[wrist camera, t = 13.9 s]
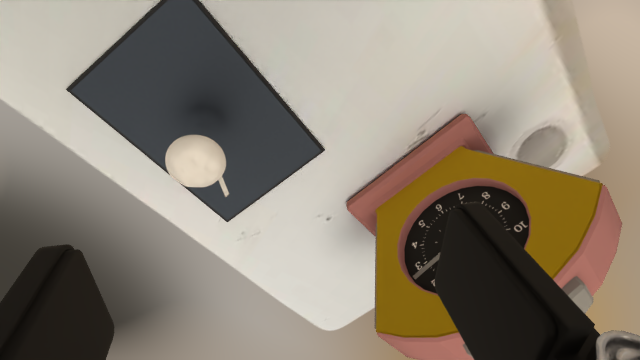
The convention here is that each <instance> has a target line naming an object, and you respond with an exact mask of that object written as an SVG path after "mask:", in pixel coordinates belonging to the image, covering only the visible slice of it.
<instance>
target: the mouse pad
mask: <svg viewBox="0 0 640 360" xmlns="http://www.w3.org/2000/svg"><path fill="white" fill-rule="evenodd" d="M66 90H67V91H68V92H70V93H71V94H72V95H73V96H74V97H76V98H77V99H78V100H79V101H81V102H82V103H83V104H84V105H85V106H87V107H88V108H89V109H90V110H91V111H93V112H94V113H95V114H96V115H98V116H99V117H100V118H101V119H102V120H104V121H105V122H106V123H107V124H109V125H110V126H111V127H112V128H113V129H115V130H116V131H117V132H118V133H119V134H121V135H122V136H123V137H124V138H126V139H127V140H128V141H129V142H130V143H132V144H133V145H134V146H135V147H136V148H138V149H139V150H140V151H141V152H143V153H144V154H145V155H146V156H147V157H149V158H150V159H151V160H152V161H153V162H155V163H156V164H157V165H158V166H160V167H161V168H162V169H163V170H164V171H166V172H167V173H168V171H167V168H166V163H165V157H166V152H167V150H168V148H169V146H170V145H171V143H172V142H173V140H174V139H175V137H176V136H177V135H178V133H179V131H180V130H181V128H182V126H183V124H184V123H185V121H186V119H187V118H188V116H189V114H190V113H191V112H192V111H194V110H196V109H197V108H199V107H204V108H211V109H213V110H214V111H215V112H217V113H218V114H220V117H221V120H222V123H223V132H224V149H225V157H226V168H225V171H224V173H223V175H222V177H223V180H224V182H225V185H226V187H227V189H228V192H229V195H228V196H227V197H225V195H224V193H223V190H222V188H221V185H220V183H219V180H217V181H216V182H215V183H213V184H212V185H209V186H207V187H186V186H184V185H183V186H184V187H185V188H186V189H188V190H189V191H190V192H191V193H192V194H194V195H195V196H196V197H197V198H198V199H200V200H201V201H202V202H203V203H205V204H206V205H207V206H208V207H209V208H211V209H212V210H213V211H214V212H215V213H217V214H218V215H219V216H220V217H222V218H223V219H224V220H225V221H226V222H228V221H230V220H231V219H232V218H234V217H235V216H236V215H238V214H239V213H241V212H242V211H243V210H245V209H246V208H247V207H249V206H250V205H251V204H253V203H254V202H256V201H257V200H258V199H260V198H261V197H262V196H264V195H265V194H266V193H268V192H269V191H270V190H272V189H273V188H275V187H276V186H277V185H279V184H280V183H281V182H283V181H284V180H285V179H287V178H288V177H289V176H291V175H292V174H294V173H295V172H296V171H298V170H299V169H300V168H302V167H303V166H304V165H306V164H307V163H308V162H310V161H311V160H313V159H314V158H315V157H317V156H318V155H319V154H321V153H322V152H323V151H325V149H324V148H323V147H322V146H321V144H320V143H319V142H318V141H317V140H316V139H315V137H314V136H313V135H312V134H311V133H310V131H309V130H308V129H307V128H306V127H305V126H304V124H303V123H302V122H301V121H300V120H299V119H298V117H297V116H296V115H295V114H294V113H293V111H292V110H291V109H290V108H289V107H288V106H287V104H286V103H285V102H284V101H283V100H282V98H281V97H280V96H279V95H278V94H277V93H276V91H275V90H274V89H273V88H272V87H271V85H270V84H269V83H268V82H267V81H266V80H265V78H264V77H263V76H262V75H261V74H260V72H259V71H258V70H257V69H256V68H255V67H254V65H253V64H252V63H251V62H250V61H249V60H248V58H247V57H246V56H245V55H244V54H243V52H242V51H241V50H240V49H239V48H238V47H237V45H236V44H235V43H234V42H233V41H232V39H231V38H230V37H229V36H228V35H227V34H226V32H225V31H224V30H223V29H222V28H221V26H220V25H219V24H218V23H217V22H216V21H215V19H214V18H213V17H212V16H211V15H210V13H209V12H208V11H207V10H206V9H205V8H204V6H203V5H202V4H201V3H200V2H199V1H198V0H161V1H160V2H159V3H158V4H157V5H156V6H155V7H154V8H153V9H152V10H151V11H150V12H148V13H147V14H146V15H145V16H144V17H143V18H142V19H141V20H140V21H139V22H138V23H137V24H136V25H135V26H133V27H132V28H131V29H130V30H129V31H128V32H127V33H126V34H125V35H124V36H123V37H122V38H121V39H120V40H118V41H117V42H116V43H115V44H114V45H113V46H112V47H111V48H110V49H109V50H108V51H107V52H106V53H105V54H103V55H102V56H101V57H100V58H99V59H98V60H97V61H96V62H95V63H94V64H93V65H92V66H91V67H90V68H88V69H87V70H86V71H85V72H84V73H83V74H82V75H81V76H80V77H79V78H78V79H77V80H76V81H75V82H73V83H72V84H71V85H70V86H69V87H68V88H67V89H66ZM168 174H169V173H168ZM169 175H170V174H169ZM180 184H181V183H180ZM181 185H182V184H181Z"/></svg>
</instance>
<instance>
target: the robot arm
mask: <svg viewBox="0 0 640 360" xmlns="http://www.w3.org/2000/svg"><path fill="white" fill-rule="evenodd" d="M434 283H435V289H436V292H437V294H438V296H439V298H440V299H441V301H442V303H443V305H444V307H445V308H446V310H447V312H448V314H449V316H450V317H451V319H452V321H453V323H454V324H455V326H456V328H457V330H458V332H459V333H460V335H461V337H462V339H463V341H464V342H465V344H466V346H467V348H468V350H469V351H470V353H471V355H472V357H473V359H474V360H640V336H638V335H635V334H632V333H629V332H625V331H608V332H604V333H603V334H601V335H600V334H599V333H598V332H597V331H596V330H595V329H594V325H595V324H594V323H593V322H592V321H591V320H590V319H589V318H588V317H587V316H586V315H585V313H584V312H583V311H582V310H581V309H580V308H579V307H578V306H577V305H576V304H575V303H574V302H573V301H572V300H571V298H570V297H569V296H568V295H567V294H566V293H565V292H564V291H563V290H562V289H561V288H560V287H559V286H558V285H557V283H556V282H555V281H554V280H553V279H552V278H551V277H550V276H549V275H548V274H547V273H546V272H545V271H544V270H543V268H542V267H541V266H540V265H539V264H538V263H537V262H536V261H535V260H534V259H533V258H532V257H531V256H530V255H529V253H528V252H527V251H526V250H525V249H524V248H523V247H522V246H521V245H520V244H519V243H518V242H517V241H516V240H515V238H514V237H513V236H512V235H511V234H510V233H509V232H508V231H507V230H506V229H505V228H504V227H503V226H502V225H501V223H500V222H499V221H498V220H497V219H496V218H495V217H494V216H493V215H492V214H491V213H490V212H489V211H488V210H487V208H486V207H485V206H484V205H483V204H482V203H480V202H471V203H461V204H457V205H456V206H455V209H454V210H451V211H450V213H449V216H448V221H447V225H446V230H445V234H444V239H443V243H442V248H441V252H440V257H439V262H438V266H437V271H436V275H435V281H434ZM113 336H114V324H113V321H112V319H111V316H110V314H109V312H108V310H107V307H106V305H105V303H104V301H103V298H102V296H101V294H100V292H99V289H98V287H97V285H96V283H95V280H94V278H93V276H92V274H91V271H90V269H89V267H88V265H87V262H86V260H85V258H84V256H83V253H82V252H81V251H80V250H74V248H73V247H72V246H71V245H57V246H48V247H42V248H39V249H38V250H37V251H36V253H35V254H34V256H33V257H32V258H31V260H30V261H29V263H28V264H27V265H26V267H25V268H24V270H23V271H22V273H21V274H20V276H19V277H18V278H17V280H16V281H15V283H14V284H13V286H12V287H11V288H10V290H9V291H8V293H7V294H6V295H5V297H4V298H3V300H2V301H1V303H0V360H106V357H107V354H108V351H109V348H110V345H111V343H112V340H113Z"/></svg>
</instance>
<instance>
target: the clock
mask: <svg viewBox="0 0 640 360" xmlns="http://www.w3.org/2000/svg"><path fill="white" fill-rule="evenodd" d="M471 202H480V203H482V204H483V205H484V206H485V207H486V208H487V210H488V211H489V212H490V213H491V214H492V215H493V216H494V217H495V218H496V219H497V220H498V221H499V222H500V223H501V225H502V226H503V227H504V228H505V229H506V230H507V231H508V232H509V233H510V234H511V235H512V236H513V237H514V238H515V240H516V241H517V242H518V243H519V244H520V245H521V246H522V247H523V248H524V249H525V250H526V251H527V252H528V253H529V255H530V256H531V257H532V258H533V259H534V260H535V261H536V262H537V263H538V264H539V265H540V266H541V267H542V268H543V270H544V271H545V272H546V273H547V274H548V275H549V276H550V277H551V278H552V279H553V280H554V281H555V282H556V283H557V285H558V286H559V287H560V288H561V289H562V290H563V291H564V292H565V293H566V294H567V295H568V296H569V297H570V298H571V300H572V301H573V302H574V303H575V304H576V305H577V306H578V307H579V308H580V309H581V310H582V311H583V312H584V313H586V311H587V310H588V309H589V307H590V306H591V305H592V303H593V297H592V296H593V295H594V293H595V292H596V291H597V290H598V289H599V288H600V286H601V285H602V283H603V281H604V279H605V276H606V274H607V272H608V270H609V268H610V265H611V263H612V261H613V259H614V257H615V254H616V251H617V246H618V242H619V237H620V232H621V227H622V222H621V220H620V217H619V215H618V213H617V210H616V208H615V205H614V203H613V201H612V199H611V196H610V194H609V191H608V189H607V187H606V186H605V185H603V184H602V183H600V181H599V180H594V179H591V178H586V177H583V176H579V175H575V174H571V173H567V172H563V171H559V170H555V169H551V168H547V167H543V166H539V165H535V164H531V163H527V162H523V161H519V160H515V159H511V158H507V157H503V156H499V155H495V154H493V152H492V151H491V149H490V148H489V146H488V144H487V143H486V141H485V140H484V138H483V137H482V135H481V133H480V132H479V130H478V129H477V127H476V126H475V124H474V122H473V121H472V119H471V118H470V117H469V116H468V115H467V114H461V115H460V116H458V117H457V118H456V119H454V120H453V121H452V122H451V123H449V124H448V125H447V126H445V127H444V128H443V129H441V130H440V131H439V132H437V133H436V134H435V135H434V136H432V137H431V138H430V139H428V140H427V141H426V142H424V143H423V144H422V145H421V146H419V147H418V148H417V149H415V150H414V151H413V152H411V153H410V154H409V155H408V156H406V157H405V158H404V159H402V160H401V161H400V162H398V163H397V164H396V165H395V166H393V167H392V168H391V169H389V170H388V171H387V172H385V173H384V174H383V175H382V176H380V177H379V178H378V179H376V180H375V181H374V182H372V183H371V184H370V185H369V186H367V187H366V188H365V189H363V190H362V191H361V192H359V193H358V194H357V195H355V196H354V197H353V198H352V199H350V200H349V201H348V202H347V205H346V206H347V209H348V211H349V212H350V213H351V214H352V215H353V216H354V217H355V218H356V219H358V220H359V221H360V222H361V223H362V224H363V225H364V226H365V227H366V228H367V229H368V230H369V231H370V232H371V233H372V234H373V235H374V236H375V237H376V257H375V329H376V332H377V335H378V336H379V337H380V338H382V339H383V340H385V341H386V342H387V343H388V344H390V345H391V346H393V347H394V348H396V349H397V350H398V351H400V352H401V353H402V354H404V355H405V356H406V357H409V358H413V359H418V360H474V359H473V357H472V355H471V353H470V351H469V350H468V348H467V346H466V344H465V342H464V341H463V339H462V337H461V335H460V333H459V332H458V330H457V328H456V326H455V324H454V323H453V321H452V319H451V317H450V316H449V314H448V312H447V310H446V308H445V307H444V305H443V303H442V301H441V299H440V298H439V296H438V294H437V292H436V289H435V283H434V281H435V275H436V271H437V266H438V262H439V257H440V252H441V248H442V243H443V239H444V234H445V230H446V225H447V221H448V216H449V213H450V211H451V210H454V209H455V206H456V205H457V204H461V203H471Z"/></svg>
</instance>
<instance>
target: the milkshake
mask: <svg viewBox="0 0 640 360" xmlns="http://www.w3.org/2000/svg"><path fill="white" fill-rule="evenodd" d="M165 163H166V168H167V171H168V173H169V174H170V175H171V177H172V178H174V179H175V180H176V181H178V182H179V183H181V184H182V185H184V186H186V187H207V186H209V185H212V184H213V183H215V182H216V181H217V180H219V183H220V185H221V188H222V190H223V193H224V195H225V197H227V196H228V195H229V192H228V189H227V187H226V185H225V182H224V180H223V177H222V175H223V173H224V171H225V168H226V157H225V149H224V132H223V123H222V120H221V117H220V114H218V113H217V112H215V111H214V110H213V109H211V108H204V107H199V108H197V109H196V110H194V111H192V112H191V113H190V114H189V116H188V118H187V119H186V121H185V123H184V124H183V126H182V128H181V130H180V131H179V133H178V135H177V136H176V137H175V139H174V140H173V142H172V143H171V145H170V146H169V148H168V150H167V152H166V157H165Z"/></svg>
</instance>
